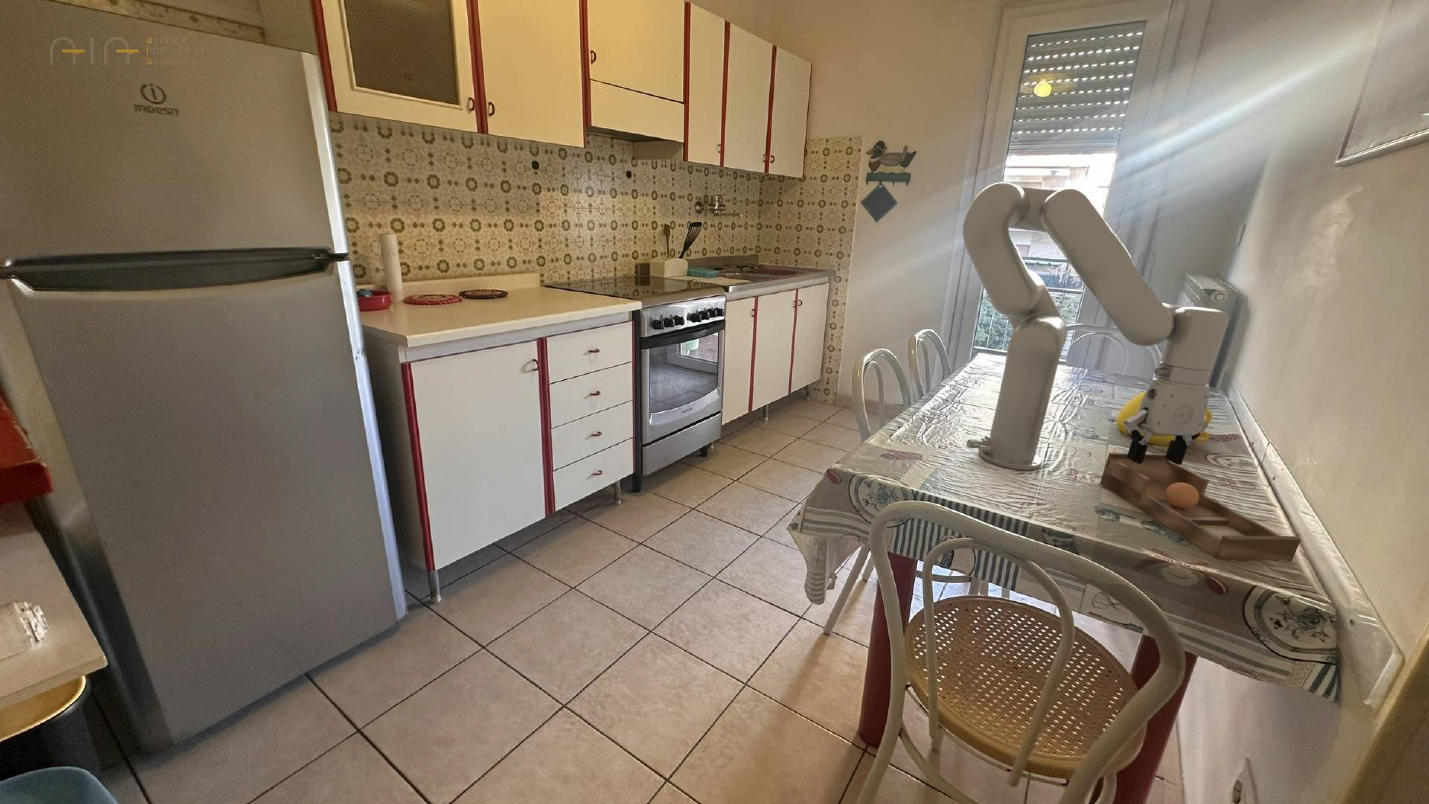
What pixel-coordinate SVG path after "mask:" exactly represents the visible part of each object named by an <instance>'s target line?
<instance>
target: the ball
mask: <svg viewBox="0 0 1429 804" xmlns="http://www.w3.org/2000/svg"><path fill="white" fill-rule="evenodd" d="M1165 495H1166V499H1167V501H1168V502H1169V503H1170V504H1171V505H1173V506H1174V507H1177V508H1180V509H1188V508H1191V507H1193V506H1195V505H1196V504H1197V503H1198V501H1199V493H1198V491H1197V490H1196V489H1195V488H1194V487H1193V486H1192V485H1190V484H1187V483H1175V484H1172V485H1170V486H1169V487H1168V488H1167V490H1166V494H1165Z"/></svg>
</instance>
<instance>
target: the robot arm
mask: <svg viewBox="0 0 1429 804" xmlns="http://www.w3.org/2000/svg"><path fill="white" fill-rule="evenodd" d="M1009 229H1017V230H1023V231H1032V232H1033V231H1034V232H1039V233H1040V232H1041V233H1047V235H1049V238H1051V239H1052V241H1053V242H1054V243H1055V245H1056V246H1057V247H1058V249H1059V250H1060V252H1062V253H1061V254H1063V256H1064V257H1065V258H1066V260H1067V262H1068V263H1069V264H1070V265H1071V267H1072V268H1073V270H1074V271H1075V272H1076V274H1077V275H1078V277H1079V278H1080V281H1082V283H1083V284H1084V285H1085V287H1087V289H1089V291H1090V292H1091V294H1092V295H1093V296H1094V297H1095V299H1096V300H1097V302H1098V303H1099V305H1100V306H1101V308H1102V309H1103V311H1104V312H1106V315H1107V316H1108V317H1109V318H1110V320H1111V321H1112V323H1113V324H1114V325H1115V326H1116V328H1117V329H1118V331H1119V332H1120V333H1121V335H1122V336H1123V338H1125V340H1127V342H1129V343H1130V344H1133V345H1136V346H1140V347H1151V346H1156V345H1158V344H1161V343H1162V342H1164V341H1165V346H1164V348H1163V352H1162V356H1161V357H1160V362H1159V365H1158V367H1156V368H1154V372H1153V373H1154V374H1155V377H1154V378H1152V379H1151V381H1150V383H1149V384H1148V386H1147V388H1146V390H1145V391H1144V392H1145V394H1144V396H1143V399H1142V401H1141V404H1140V406H1139V409H1138V412H1137V414H1135V415H1133V416H1132V417H1130V418H1128V419H1127V420H1125V421H1124V426H1125V428H1126V430H1127V433H1128V435H1129V436H1130V437H1129V436H1128V437H1129V438H1128V439H1130V440H1131V443H1130V446H1129V448H1128V452H1127V453H1128V455H1127V458H1128V459H1130V460H1132V461H1134V462H1136V463H1137V464H1142V463H1143V460H1144V457H1145V454H1146V453H1147V451H1148V447H1149V446H1148V444H1147V441H1148V440H1149V439H1150V438H1151V437H1152V436H1153V435H1154V434H1155V435H1170V436H1174V438H1175V440H1171V442H1170V444H1169V446H1167V447H1168V448H1167V451H1166V453H1165V454H1166V456H1165V458H1166V459H1167V460H1169V461H1171V462H1173V463H1175V464H1177V465H1180V466H1182V463H1183V461H1184V458H1185V455H1186V454H1187V449H1188V447H1190V446H1192V444H1193V442H1194V441H1196V438H1197V437H1199V435H1200V436H1201V434H1200V433H1202V432H1203V431H1206V429H1208V427H1209V424H1207V423H1206V422H1205V421H1204V420H1205V418H1206V410H1207V409H1208V404H1209V399H1210V385H1209V384H1207V383H1208V381H1209V378H1210V375H1211V373H1212V370H1213V367H1214V364H1215V361H1216V358H1217V355H1218V352H1219V350H1220V347H1221V344H1222V341H1223V338H1224V335H1225V332H1226V329H1227V327H1228V323H1229V318H1230V317H1229V315H1228V313H1227V312H1225V311H1223V310H1219V309H1214V308H1207V307H1198V306H1180V305H1174V304H1170V303H1164V302H1162V301H1161V300H1160V298H1159V297H1158V296H1157V295H1156V293H1155V292H1154V291H1153V289H1152V288H1151V286H1150V285H1149V284H1148V282H1147V281H1146V280H1145V278H1144V277H1143V275H1142V274H1141V273H1140V271H1139V270H1138V268H1137V267H1136V264H1135V263H1134V262H1133V258H1132V256H1131V254H1130V253H1129V251H1128V250H1127V248H1126V247H1125V245H1124V244H1123V242H1122V241H1121V240H1120V239H1119V237H1118V235H1117V234H1116V232H1114V230H1113V229H1112V228H1111V227H1110V225H1109V224H1108V223H1107V221H1106V220H1105V218H1103V215H1102V214H1100V212H1099V211H1098V209H1097V207H1095V205H1094V204H1093V203H1092V201H1091V200H1090V198H1089V197H1088V195H1086V194H1085V193H1084V192H1083V191H1081V190H1080V189H1077V188H1072V187H1071V188H1069V187H1068V188H1063V189H1060V190H1058V189H1056V190H1055V189H1045V188H1037V187H1036V188H1035V187H1025V186H1018V185H1016V184H1014V183H1011V182H1007V181H1006V182H1005V181H1003V182H996V183H992V184H990V185H988V186H986V187H985V188H984V189H982V190H981V191H980V192H979V193H978V194H977V195H976V197H974V198H973V200H972V202H971V204H970V205H969V207H968V209H967V210H966V214H965V215H964V220H963V224H962V237H963V242H964V245H965V248H966V251H967V254H968V256H969V258H970V260H971V262H972V264H973V266H974V268H975V270H976V273H977V276H978V277H979V280H980V281H981V284H982V286H983V288H984V290H985V292H986V294H987V296H988V299H989V300H990V304H991V305H992V307H993V309H994V310H995V311H996V312H997V313H999V314H1000V315H1002V316H1004V317H1006V319H1007V321H1008V322H1009V324H1010V325H1011V328H1012V330H1013V332H1012V334H1011V335H1010V339H1009V342H1008V347H1007V351H1006V359H1005V365H1004V370H1003V374H1002V377H1001V378H1002V379H1001V384H1000V389H999V393H998V398H997V403H996V407H995V411H994V416H993V419H992V424H991V429H990V433H989V434H985V436H984V438H981V439H967V441H966V447H967V448H968V449H978V454H979V456H980V457H981V458H982V459H984V460H985V461H986V462H989V463H991V464H993V465H997V466H1000V467H1003V468H1007V469H1011V470H1012V469H1013V470H1016V471H1017V470H1019V471H1033V470H1038V469H1039V468H1040V467H1041V466H1042V464H1043V463H1042V462H1043V461H1042V458H1041V457H1040V456H1039V455H1038V454H1037V450H1038V449H1037V448H1038V446H1039V442H1040V439H1041V437H1040V436H1041V434H1042V431H1043V426H1044V421H1045V420H1046V419H1045V418H1046V414H1047V411H1048V406H1049V403H1050V398H1051V394H1052V390H1053V386H1054V383H1055V378H1056V374H1057V370H1058V366H1059V361H1060V359H1061V355H1062V353H1063V349H1064V346H1065V344H1066V342H1067V339H1068V338H1067V337H1068V330H1067V325H1066V323H1065V321H1064V319H1063V317H1062V315H1061V313H1060V311H1059V309H1058V307H1057V305H1056V303H1055V302H1054V299H1053V297H1052V296H1051V294H1050V292H1049V290H1048V287H1047V286H1046V284H1045V282H1044V280H1043V279H1042V277H1040V276H1039V274H1037V273H1036V272H1034V271H1032V270H1029V269H1028V267H1027V265H1026V264H1025V262H1024V260H1023V257H1022V256H1021V254H1020V252H1019V249H1018V247H1017V246H1016V244H1015V242H1014V241H1013V239H1012V236H1011V233H1010V231H1009ZM1136 426H1138V427H1137V428H1136ZM1143 431H1145V432H1146V433H1145V434H1144V435H1143V436H1142V435H1141V434H1142V432H1143ZM1193 440H1194V441H1193Z"/></svg>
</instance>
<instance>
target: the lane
mask: <svg viewBox="0 0 1429 804" xmlns="http://www.w3.org/2000/svg"><path fill="white" fill-rule="evenodd" d="M1127 455H1128V452H1108V456H1107V458H1106V463H1105V465H1104V469H1103V472H1102V475H1101V479H1100V482H1099V485H1101V486H1103V487H1105V489H1107V490H1109V491H1111V492H1112V493H1113V494H1115V495H1117V496H1118V497H1120V498H1121V499H1123V500H1124V501H1126V502H1128V503H1129V504H1131V505H1132V504H1133V505H1132V506H1134V507H1135V508H1137V507H1138V508H1137V509H1139V510H1140V511H1142V510H1143V511H1142V512H1143V513H1145V514H1146V513H1147V514H1146V515H1148V516H1149V517H1151V518H1153V520H1156V521H1157V522H1159V523H1160V524H1162V525H1163V526H1164V527H1166V528H1168V529H1170V530H1172V531H1173V532H1175V533H1176V534H1178V535H1179V536H1180V537H1182V536H1183V537H1182V538H1184V539H1185V540H1187V539H1188V541H1189V542H1190V541H1191V542H1190V543H1192V542H1193V543H1194V544H1193V543H1192V544H1193V545H1195V544H1196V545H1198V546H1199V547H1198V546H1197V547H1198V548H1199V549H1201V548H1202V549H1201V550H1203V551H1204V552H1206V553H1207V554H1209V553H1210V554H1211V556H1212V557H1213V558H1215V557H1216V559H1217V560H1218V559H1220V560H1292V561H1293V559H1294V557H1295V555H1296V552H1297V550H1298V548H1299V546H1300V543H1301V541H1302V539H1301V538H1299V537H1297V536H1295V535H1281V534H1280V533H1277V532H1275V531H1274V530H1272V529H1270V528H1268V527H1266V526H1264V525H1262V524H1261V523H1260V522H1259V523H1258V522H1257V521H1255V520H1253V519H1251V518H1249V517H1247V516H1245V515H1243V514H1242V513H1240V512H1239V511H1236V510H1234V509H1232V508H1230V507H1228V506H1226V505H1224V503H1221V502H1219V501H1217V500H1215V499H1214V498H1211V497H1209V496H1208V495H1205V492H1206V490H1207V487H1208V484H1209V481H1210V479H1208V478H1207V477H1204V476H1203V475H1200V474H1198V473H1196V472H1194V471H1192V470H1189V469H1188V468H1186V467H1184V466H1182V465H1177V464H1175V463H1173V462H1171V461H1169V460H1167V459H1166V458H1165V456H1166V453H1150V452H1149V453H1147V452H1146V454H1145V457H1144V460H1143V463H1142V464H1137V463H1136V462H1134V461H1132V460H1130V459H1128V458H1127ZM1175 483H1187V484H1190V485H1192V486H1193V487H1194V488H1195V489H1196V490H1197V491H1198V493H1199V501H1198V503H1197V504H1196V505H1195V506H1193V507H1191V508H1188V509H1180V508H1177V507H1174V506H1173V505H1171V504H1170V503H1169V502H1168V501H1167V499H1166V495H1165V494H1166V490H1167V488H1168V487H1169V486H1170V485H1172V484H1175ZM1196 545H1195V546H1196ZM1210 554H1209V555H1210ZM1220 560H1219V561H1220Z"/></svg>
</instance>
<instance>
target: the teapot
mask: <svg viewBox="0 0 1429 804" xmlns="http://www.w3.org/2000/svg"><path fill="white" fill-rule="evenodd" d="M1145 392H1146V391H1143V392H1140V393H1139V394H1137V395H1136V396H1134V398H1132V399H1131V400H1130V401H1129V402H1127V403H1126V404H1125V405H1124V406H1123V408H1122V409H1121V410H1120V412H1119V413H1118V415H1117V417H1116V425H1117V427H1118V428H1119V430H1120V431H1121V433H1123V434H1124V435H1125V434H1126V436H1127V437H1130V436H1129V435H1128V433H1127V430H1126V428H1125V426H1124V421H1125V420H1127V419H1128V418H1130V417H1132V416H1133V415H1135V414H1137V412H1138V409H1139V406H1140V404H1141V401H1142V399H1143V396H1144V394H1145ZM1212 418H1213V414H1212V411H1211V410H1210V409H1209V408H1207V410H1206V414H1205V418H1204V421H1205V422H1206V423H1207V424H1208V425H1209V424H1210V423H1211V420H1212ZM1137 427H1138V426H1136V428H1137ZM1145 433H1146V432H1145V431H1143V432H1142V434H1141V435H1142V436H1143V435H1144V434H1145ZM1201 435H1204V436H1203V437H1201ZM1209 439H1210V433H1209V432H1208V431H1206V430H1204V431H1203V432H1202V433H1200V435H1199V437H1197V438H1196V439H1195V440H1193V442H1194V441H1198V442H1201V443H1202V442H1207V441H1208V440H1209ZM1171 440H1175V438H1174V436H1170V435H1155V434H1154V435H1153V436H1152V437H1151V438H1150V439H1149V440H1148V441H1147V442H1146V444H1147V443H1148V444H1151V443H1152V445H1157V446H1163V447H1169V444H1170V442H1171Z"/></svg>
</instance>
